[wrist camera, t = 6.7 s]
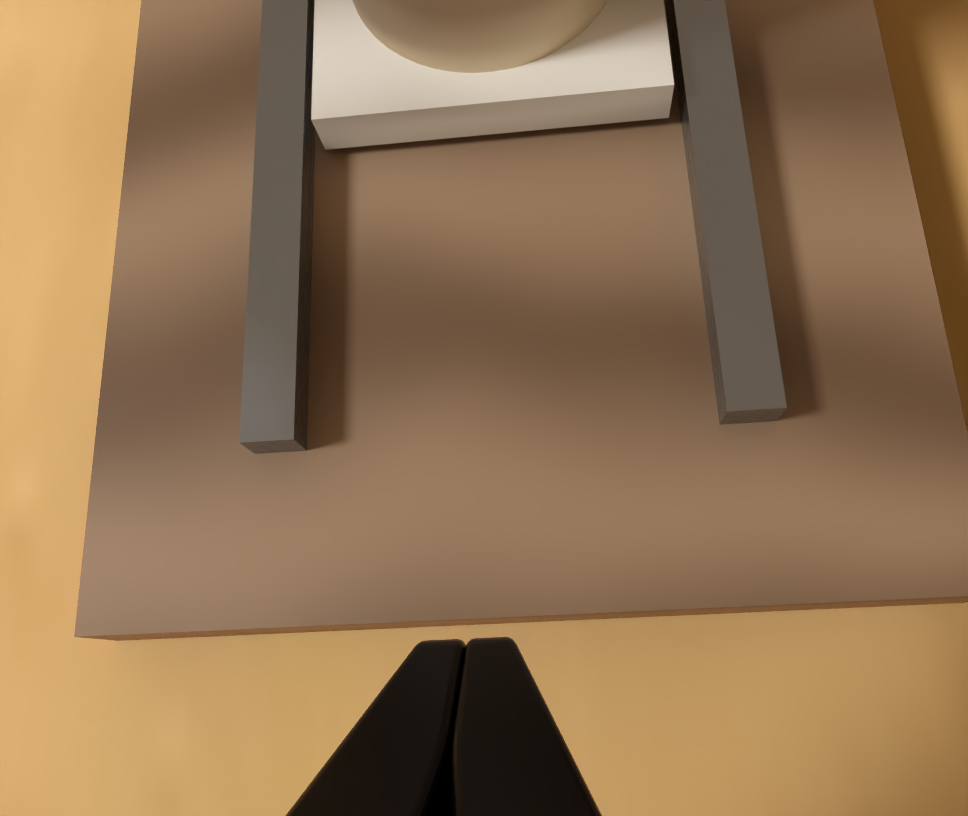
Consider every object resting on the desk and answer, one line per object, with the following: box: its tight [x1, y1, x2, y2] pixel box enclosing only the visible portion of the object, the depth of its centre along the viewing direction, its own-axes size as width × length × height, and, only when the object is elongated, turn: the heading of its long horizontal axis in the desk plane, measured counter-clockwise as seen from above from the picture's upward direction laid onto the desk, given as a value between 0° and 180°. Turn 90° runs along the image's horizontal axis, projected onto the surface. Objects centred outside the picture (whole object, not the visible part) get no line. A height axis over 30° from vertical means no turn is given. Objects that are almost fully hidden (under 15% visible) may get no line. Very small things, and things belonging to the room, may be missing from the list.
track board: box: [74, 0, 968, 641], centre depth 19 cm, size 22×16×2 cm
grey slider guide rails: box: [239, 0, 787, 454], centre depth 17 cm, size 17×12×3 cm
